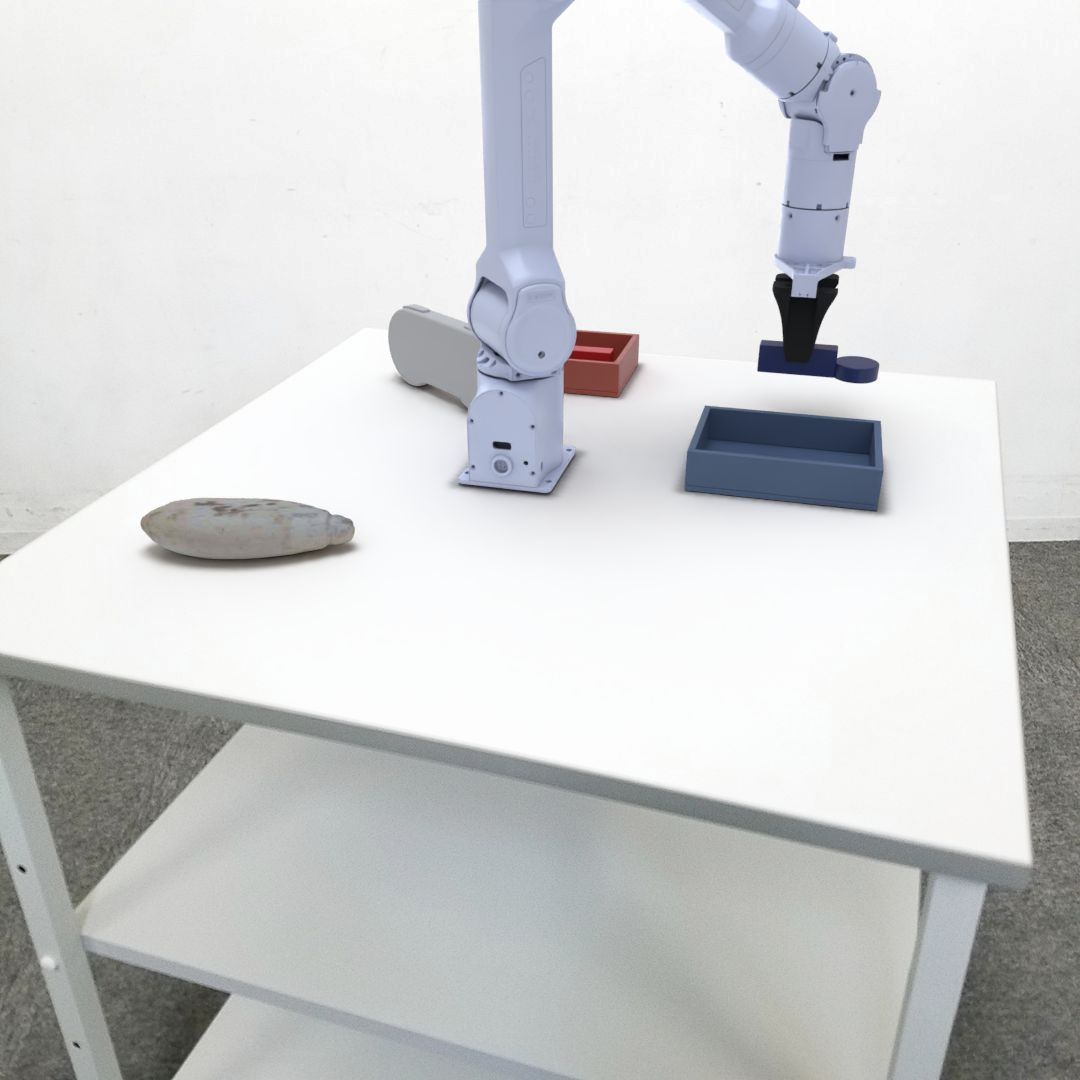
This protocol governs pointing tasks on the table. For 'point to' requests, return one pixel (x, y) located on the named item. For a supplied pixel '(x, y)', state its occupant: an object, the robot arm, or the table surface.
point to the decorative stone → (244, 527)
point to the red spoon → (592, 353)
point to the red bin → (602, 364)
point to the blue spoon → (818, 363)
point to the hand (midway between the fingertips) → (797, 357)
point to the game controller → (434, 351)
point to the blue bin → (786, 457)
